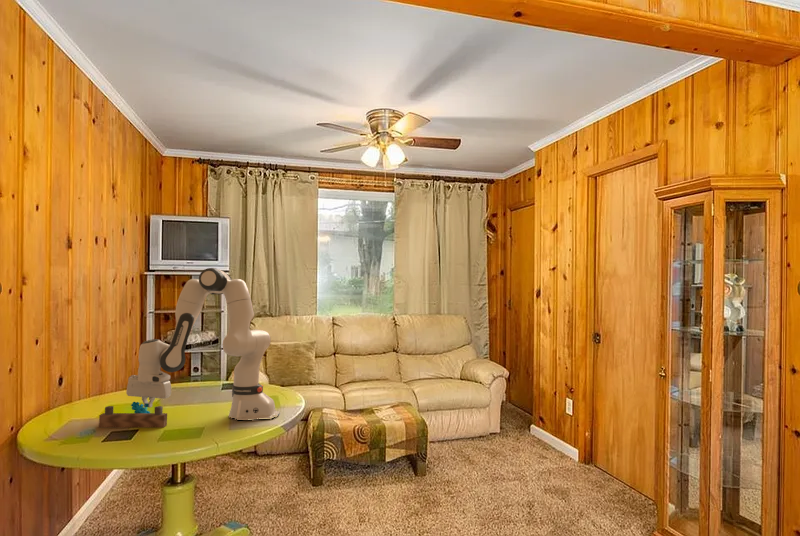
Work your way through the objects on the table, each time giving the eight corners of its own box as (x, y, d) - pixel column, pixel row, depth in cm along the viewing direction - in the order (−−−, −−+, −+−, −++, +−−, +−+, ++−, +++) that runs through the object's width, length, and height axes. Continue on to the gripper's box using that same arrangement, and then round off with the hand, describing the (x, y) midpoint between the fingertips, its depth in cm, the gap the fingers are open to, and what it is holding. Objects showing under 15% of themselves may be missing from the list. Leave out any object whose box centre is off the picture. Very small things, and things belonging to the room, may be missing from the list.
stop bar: (166, 425, 197) (167, 406, 197) (163, 427, 194) (164, 408, 194) (103, 425, 195) (103, 406, 195) (98, 427, 192) (99, 408, 192)
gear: (145, 418, 199) (129, 402, 200) (133, 429, 198) (118, 412, 199) (156, 414, 210) (141, 398, 211) (146, 424, 209) (131, 408, 210)
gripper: (123, 376, 206) (122, 407, 206) (164, 378, 203) (163, 410, 202) (134, 373, 212) (132, 403, 212) (173, 375, 209) (172, 406, 208)
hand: (148, 406), depth 207 cm, fingers closed
